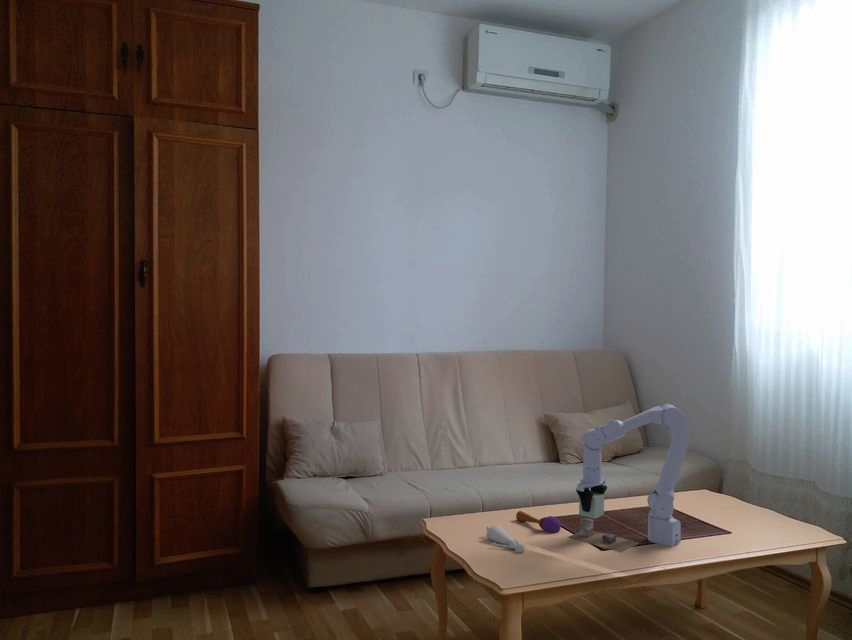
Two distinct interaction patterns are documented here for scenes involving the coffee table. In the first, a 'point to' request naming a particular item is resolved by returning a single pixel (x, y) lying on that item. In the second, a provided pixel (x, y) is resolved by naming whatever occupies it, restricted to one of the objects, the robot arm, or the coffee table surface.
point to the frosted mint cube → (594, 506)
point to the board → (601, 537)
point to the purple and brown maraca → (541, 522)
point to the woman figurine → (503, 538)
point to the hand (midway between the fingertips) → (591, 509)
